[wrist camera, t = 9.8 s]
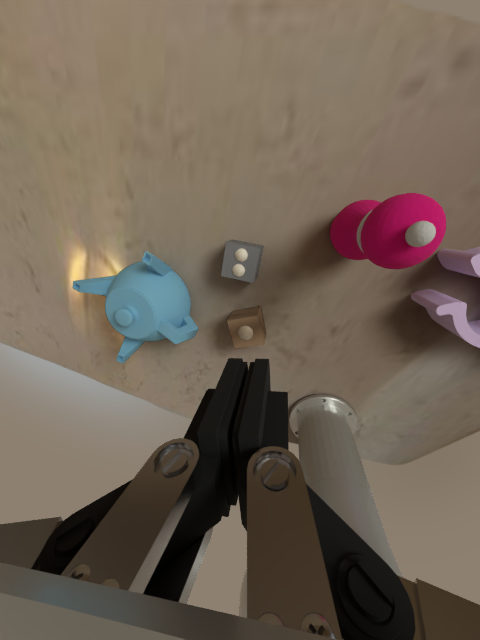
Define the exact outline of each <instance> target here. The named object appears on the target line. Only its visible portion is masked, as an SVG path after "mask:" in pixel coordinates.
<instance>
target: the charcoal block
mask: <svg viewBox="0 0 480 640" xmlns="http://www.w3.org/2000/svg"><path fill="white" fill-rule="evenodd" d="M263 247H264V246H261V245H256V244H251V243H247V242H242V241H237V240H230V241H226V245H225V252H224V258H223V265H222V272H221V276H223V277H227V278H232V279H237V280H241V281H246V282H250V283H254V282H255V280H256V278H257V275H258V270H259V266H260V261H261V256H262V251H263Z"/></svg>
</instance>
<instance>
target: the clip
mask: <svg viewBox="0 0 480 640" xmlns="http://www.w3.org/2000/svg"><path fill="white" fill-rule="evenodd" d="M437 256H438V259H439V261H440V263H441V265H442V266H443V267H444V268H446V269H448V270H452V271H456V272H459V273H463V274H467V275H471V276H475V277H479V278H480V247H477V248H472V249H469V250H466V251H459V250H451V249H442V250H440V251H439V252H438V253H437ZM411 299H412V300H413V301H415V302H417V303H418V304H420V305H422V306H423V307H425V308H426V310H427V312H428V314H429V315H430V317H431V318H432V319H433V320H434V321H435V322H437V323H438V324H440V325H441V326H443V327H444V328H446V329H448V330H449V331H451V332H452V333H454V334H455V335H457V336H459V337H460V338H462V339H463V340H465V341H467V342H468V343H470V344H471V345H473V346H476V347H478V348H480V320H476V321H470V322H467V318H466V308H467V304H466V303H464V302H462V301H459V300H457V299H455V298H452V297H450V296H448V295H445V294H443V293H440V292H438V291H436V290H433V289H425V290H421V291H417V292H413V293H412V294H411Z"/></svg>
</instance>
